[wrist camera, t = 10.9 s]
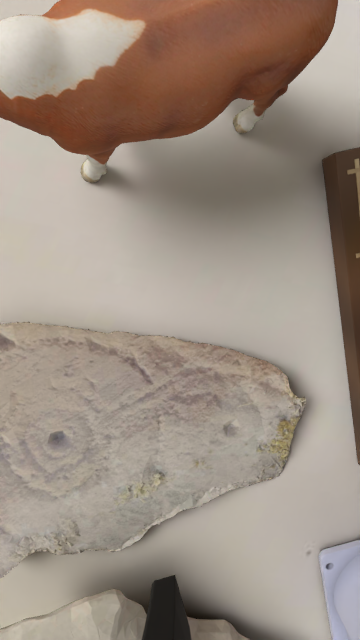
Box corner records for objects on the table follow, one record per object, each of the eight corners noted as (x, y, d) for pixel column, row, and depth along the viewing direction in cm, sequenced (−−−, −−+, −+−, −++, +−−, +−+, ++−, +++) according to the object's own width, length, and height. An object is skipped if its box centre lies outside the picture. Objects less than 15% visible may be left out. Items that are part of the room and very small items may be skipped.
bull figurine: (-19, 105, 15) (-221, -70, 7) (267, 42, 15) (397, -192, 7) (14, 205, 16) (-128, 156, 8) (282, 143, 16) (412, 35, 8)
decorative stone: (-45, 561, 19) (-59, 584, 18) (-88, 324, 16) (-108, 330, 15) (292, 528, 21) (301, 546, 19) (301, 308, 18) (313, 312, 17)
